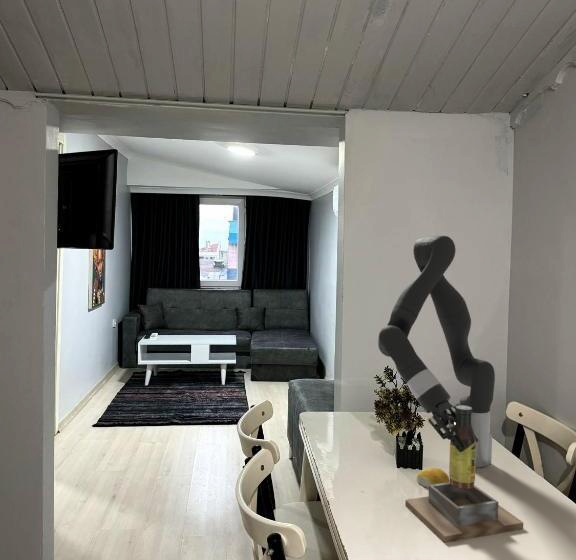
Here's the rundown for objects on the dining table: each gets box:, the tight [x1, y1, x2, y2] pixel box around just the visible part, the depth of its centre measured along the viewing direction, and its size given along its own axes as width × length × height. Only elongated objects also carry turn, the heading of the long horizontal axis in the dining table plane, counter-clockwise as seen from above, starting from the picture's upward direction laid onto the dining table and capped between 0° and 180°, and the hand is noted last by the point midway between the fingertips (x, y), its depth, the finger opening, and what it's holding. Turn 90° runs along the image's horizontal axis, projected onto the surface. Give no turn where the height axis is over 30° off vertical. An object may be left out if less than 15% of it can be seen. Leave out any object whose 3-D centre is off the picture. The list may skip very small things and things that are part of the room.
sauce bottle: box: [448, 405, 476, 489], centre depth 129 cm, size 6×6×20 cm
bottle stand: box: [405, 481, 524, 543], centre depth 130 cm, size 22×18×6 cm
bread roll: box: [416, 467, 450, 489], centre depth 149 cm, size 8×9×4 cm
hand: (469, 446), depth 128 cm, fingers closed on sauce bottle, 6 cm apart
